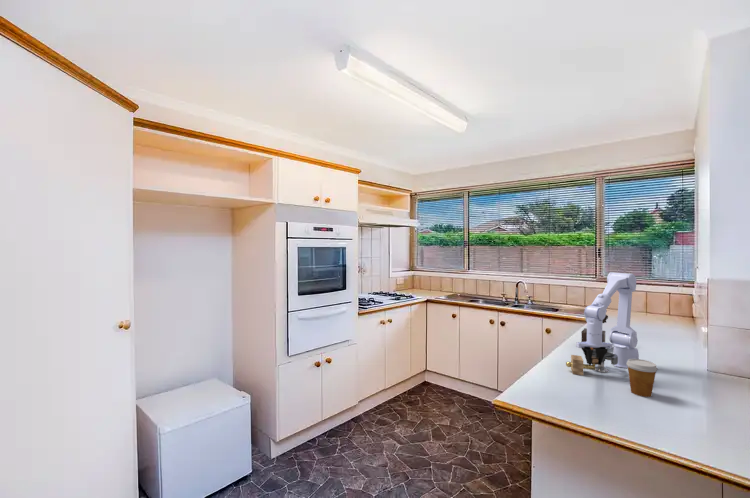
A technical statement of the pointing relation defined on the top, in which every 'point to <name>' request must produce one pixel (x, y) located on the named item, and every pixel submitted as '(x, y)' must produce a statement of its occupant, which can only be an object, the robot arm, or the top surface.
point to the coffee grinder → (584, 333)
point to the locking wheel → (607, 357)
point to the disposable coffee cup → (641, 376)
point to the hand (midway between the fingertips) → (593, 364)
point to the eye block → (577, 364)
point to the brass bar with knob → (585, 366)
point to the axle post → (601, 368)
